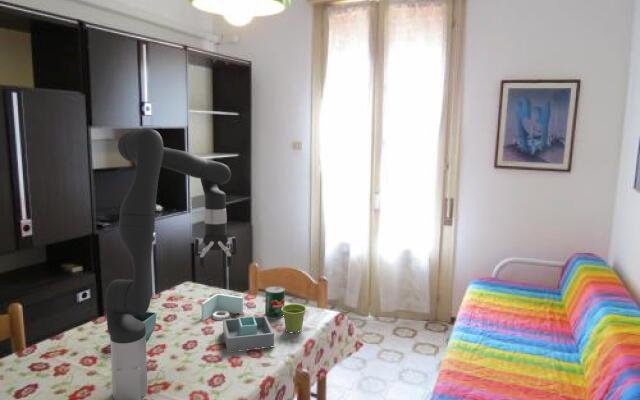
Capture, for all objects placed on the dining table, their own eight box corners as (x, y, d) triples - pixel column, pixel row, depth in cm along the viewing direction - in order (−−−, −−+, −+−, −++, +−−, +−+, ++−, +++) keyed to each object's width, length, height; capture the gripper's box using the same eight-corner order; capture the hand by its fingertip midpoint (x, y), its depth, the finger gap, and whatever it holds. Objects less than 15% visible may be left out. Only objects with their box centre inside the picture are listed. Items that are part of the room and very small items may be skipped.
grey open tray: (273, 347, 161) (274, 333, 160) (227, 352, 156) (227, 338, 155) (265, 328, 176) (265, 315, 175) (223, 332, 171) (223, 319, 170)
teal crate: (256, 341, 163) (256, 325, 162) (240, 342, 161) (240, 326, 160) (253, 331, 170) (253, 316, 169) (238, 333, 169) (238, 317, 168)
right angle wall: (201, 321, 182) (201, 303, 181) (216, 310, 193) (216, 293, 192) (228, 326, 178) (228, 307, 177) (242, 314, 190) (242, 297, 189)
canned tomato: (277, 320, 184) (277, 293, 182) (261, 315, 188) (261, 290, 186) (288, 313, 190) (288, 288, 189) (272, 309, 194) (273, 284, 193)
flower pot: (144, 346, 158) (143, 322, 157) (121, 343, 160) (120, 319, 159) (157, 335, 167) (157, 312, 166) (136, 333, 169) (135, 309, 167)
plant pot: (276, 331, 173) (276, 309, 172) (289, 323, 181) (289, 302, 180) (297, 337, 169) (298, 315, 167) (310, 328, 177) (310, 306, 176)
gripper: (194, 223, 154) (194, 270, 156) (237, 222, 157) (237, 268, 159) (194, 219, 161) (194, 264, 163) (235, 219, 164) (235, 263, 167)
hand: (215, 266), depth 161 cm, fingers open, 8 cm apart
